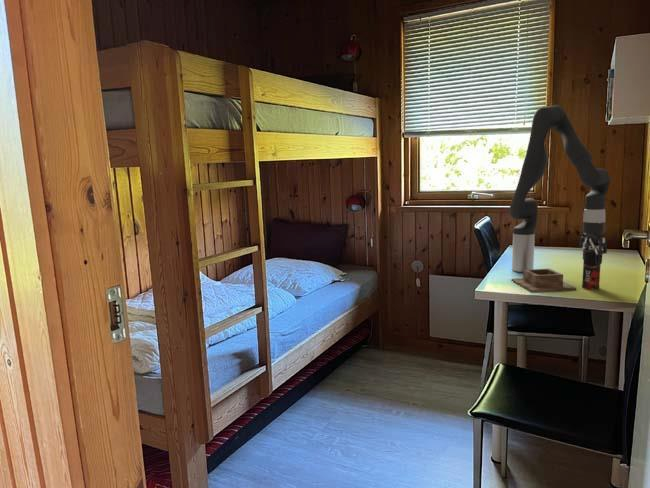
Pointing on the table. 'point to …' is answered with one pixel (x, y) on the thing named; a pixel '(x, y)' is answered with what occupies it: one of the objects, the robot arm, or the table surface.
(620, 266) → the table surface
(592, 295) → the table surface
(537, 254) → the table surface
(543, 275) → the well holder
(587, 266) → the deodorant
